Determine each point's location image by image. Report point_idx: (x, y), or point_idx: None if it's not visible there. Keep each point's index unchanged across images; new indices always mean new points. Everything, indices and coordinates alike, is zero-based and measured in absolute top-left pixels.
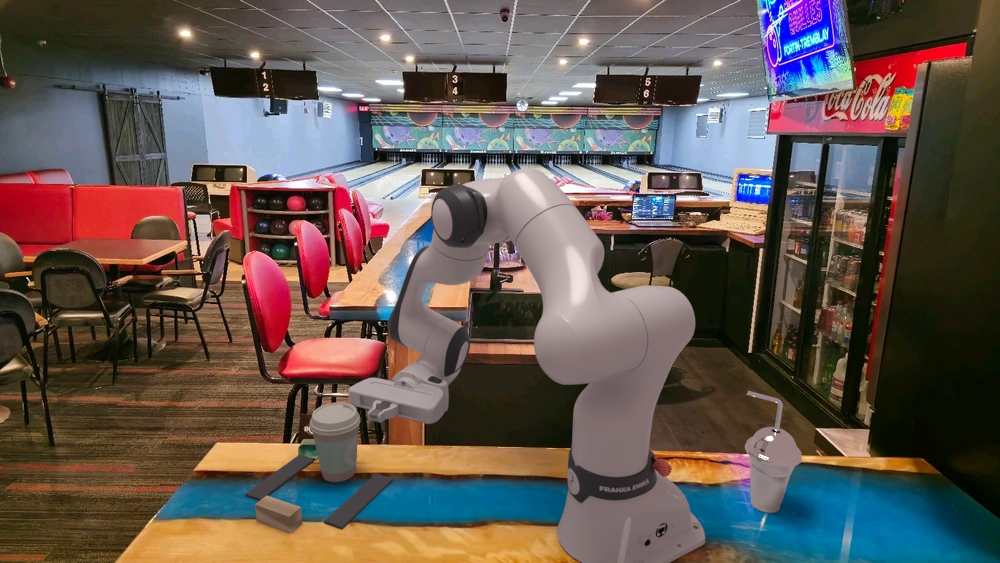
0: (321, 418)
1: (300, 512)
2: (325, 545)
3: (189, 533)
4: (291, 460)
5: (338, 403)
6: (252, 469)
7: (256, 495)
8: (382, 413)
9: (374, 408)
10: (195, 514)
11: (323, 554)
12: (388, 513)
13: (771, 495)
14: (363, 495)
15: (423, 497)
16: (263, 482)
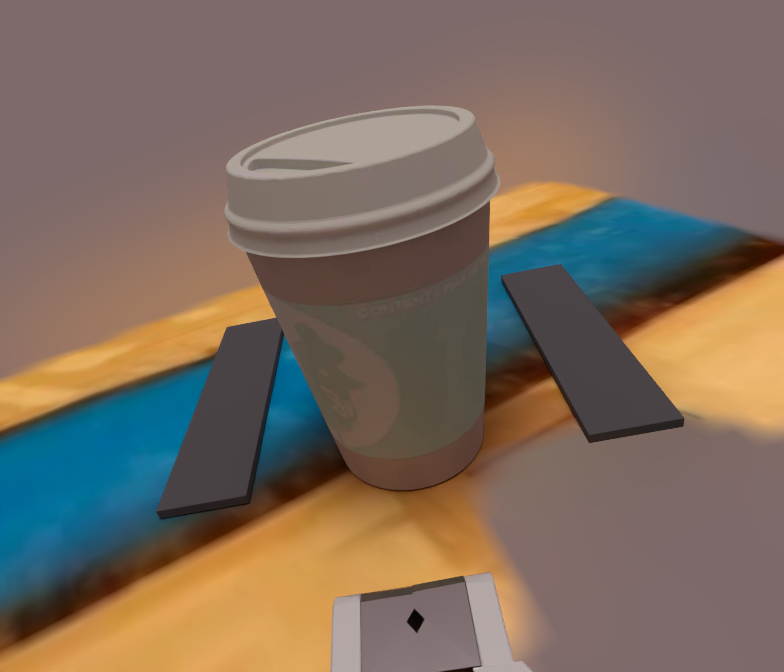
0: (377, 122)
1: None
2: (240, 303)
3: (523, 211)
4: (643, 369)
5: (407, 149)
6: (699, 305)
7: (527, 273)
8: (333, 637)
9: (481, 658)
10: (579, 219)
11: (230, 294)
12: (123, 412)
13: None
14: (231, 404)
15: (4, 514)
16: (575, 294)
